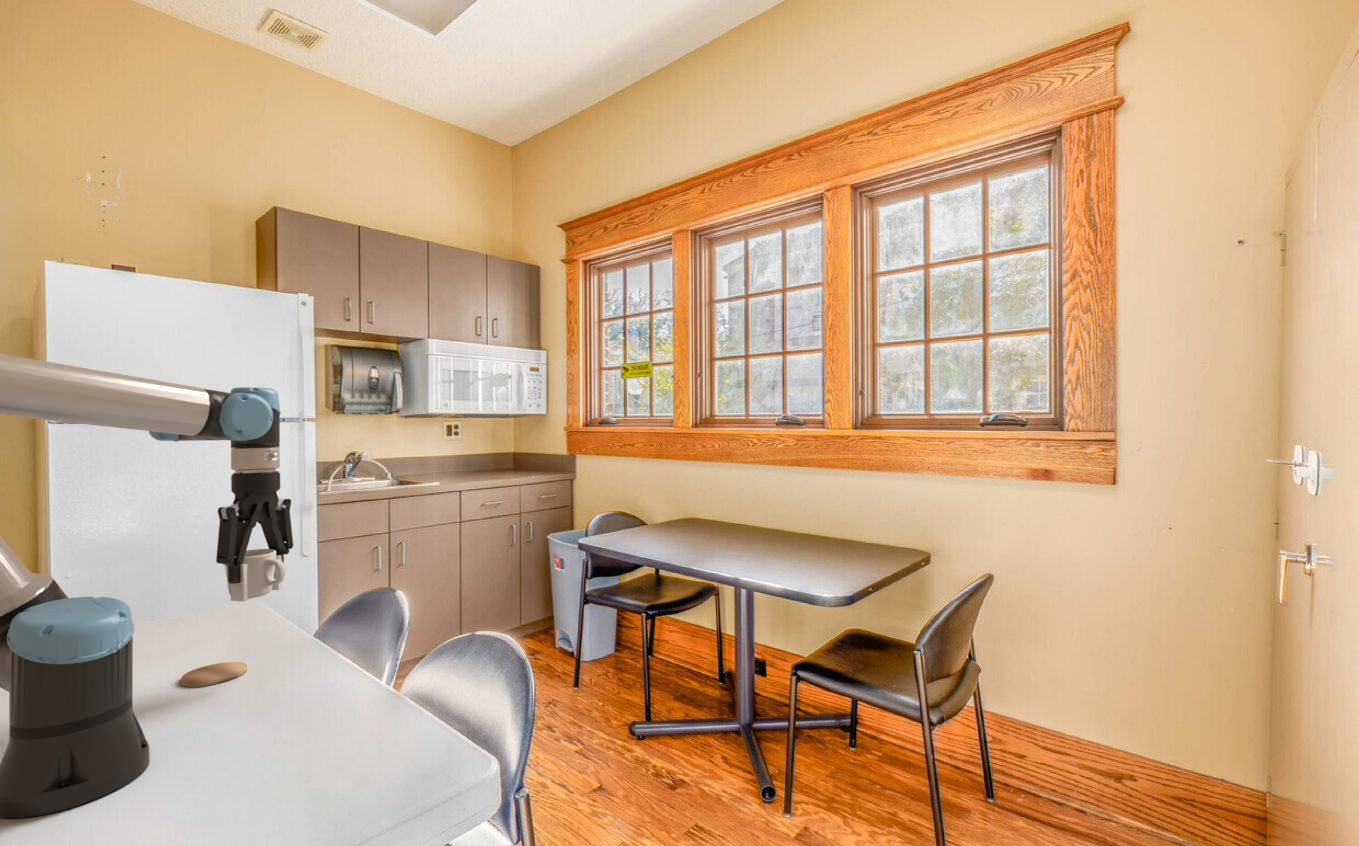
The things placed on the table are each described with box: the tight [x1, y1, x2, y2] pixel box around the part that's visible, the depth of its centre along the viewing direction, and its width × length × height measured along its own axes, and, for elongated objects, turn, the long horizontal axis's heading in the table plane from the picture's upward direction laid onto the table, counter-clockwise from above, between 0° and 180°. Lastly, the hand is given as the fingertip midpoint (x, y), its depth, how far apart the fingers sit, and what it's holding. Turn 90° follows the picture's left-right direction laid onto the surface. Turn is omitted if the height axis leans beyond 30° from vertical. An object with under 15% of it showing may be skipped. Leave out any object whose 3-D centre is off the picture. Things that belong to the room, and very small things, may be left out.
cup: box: [224, 548, 286, 599], centre depth 114 cm, size 11×8×8 cm
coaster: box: [180, 661, 248, 688], centre depth 117 cm, size 10×10×1 cm
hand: (257, 594), depth 114 cm, fingers closed on cup, 7 cm apart
